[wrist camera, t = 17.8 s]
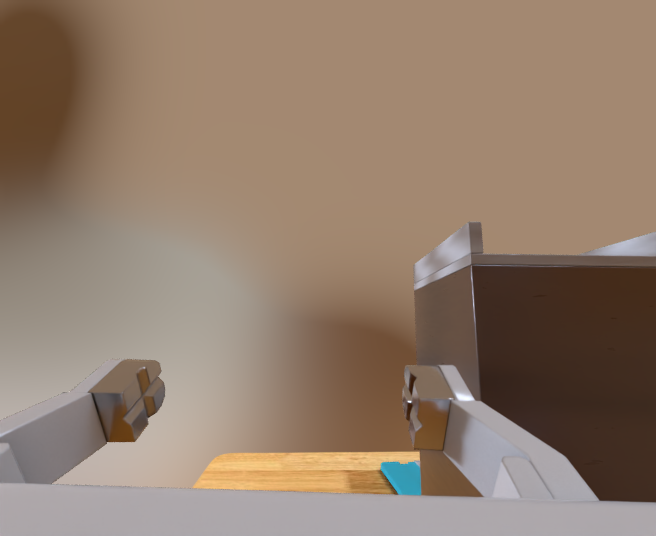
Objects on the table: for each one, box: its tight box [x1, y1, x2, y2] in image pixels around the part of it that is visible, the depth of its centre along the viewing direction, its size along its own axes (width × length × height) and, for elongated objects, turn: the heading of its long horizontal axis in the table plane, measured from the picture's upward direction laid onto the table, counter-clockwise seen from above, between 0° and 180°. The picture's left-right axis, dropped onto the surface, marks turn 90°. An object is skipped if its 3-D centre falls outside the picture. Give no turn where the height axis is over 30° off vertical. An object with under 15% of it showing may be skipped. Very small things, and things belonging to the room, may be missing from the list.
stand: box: [414, 222, 656, 502], centre depth 16 cm, size 10×10×28 cm
